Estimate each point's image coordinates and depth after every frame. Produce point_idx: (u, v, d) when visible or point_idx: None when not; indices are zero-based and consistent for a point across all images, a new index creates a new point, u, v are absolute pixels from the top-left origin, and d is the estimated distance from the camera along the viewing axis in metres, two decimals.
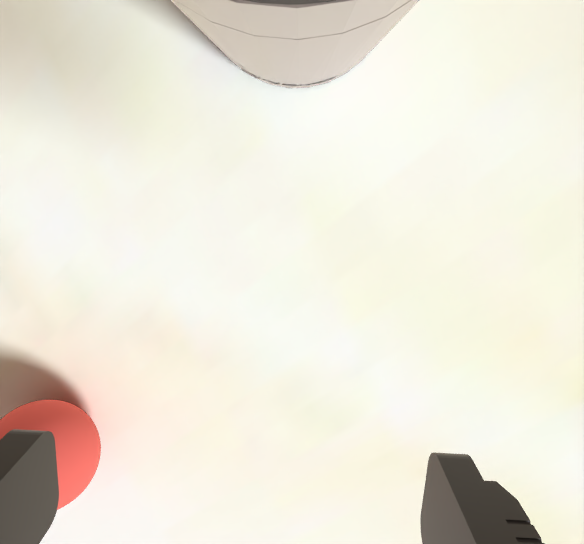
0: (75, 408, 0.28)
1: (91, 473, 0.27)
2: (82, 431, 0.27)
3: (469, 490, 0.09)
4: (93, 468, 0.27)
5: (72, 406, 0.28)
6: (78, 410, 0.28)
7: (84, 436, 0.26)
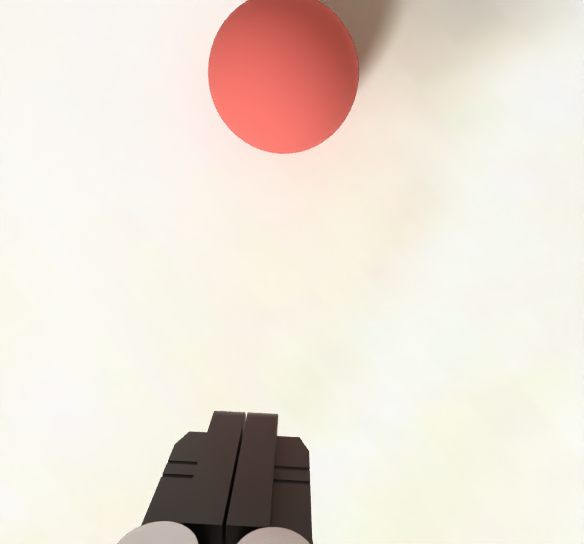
0: None
1: (266, 150, 0.20)
2: (325, 139, 0.20)
3: (257, 441, 0.10)
4: (272, 151, 0.20)
5: None
6: None
7: None
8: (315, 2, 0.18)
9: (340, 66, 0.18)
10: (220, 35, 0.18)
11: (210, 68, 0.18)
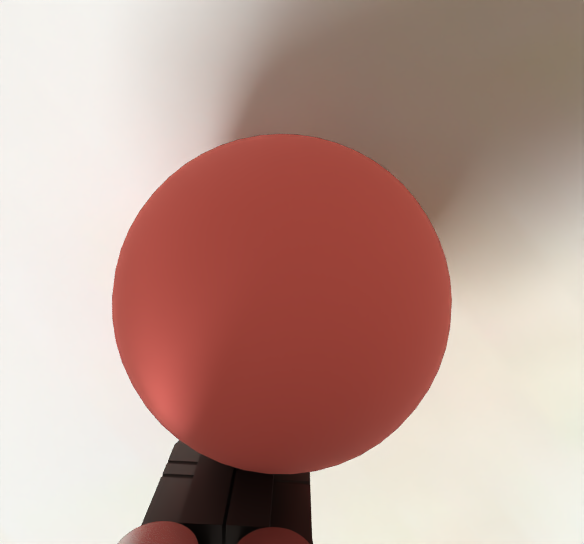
0: None
1: (235, 466, 0.08)
2: None
3: None
4: (248, 470, 0.08)
5: None
6: None
7: (367, 450, 0.08)
8: (359, 153, 0.08)
9: (431, 269, 0.07)
10: (148, 200, 0.08)
11: (116, 268, 0.08)
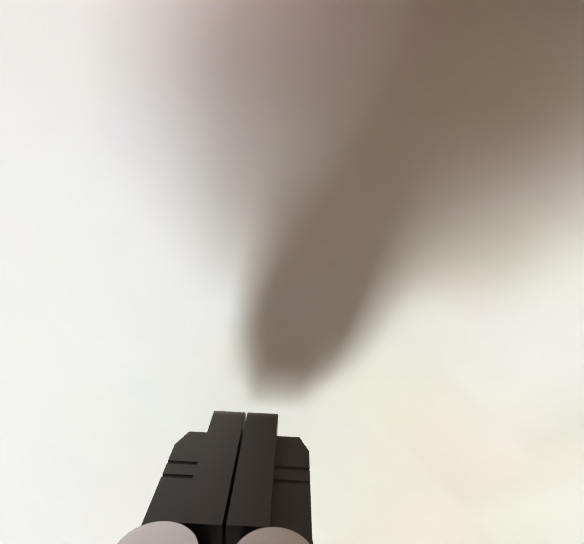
0: None
1: None
2: None
3: (257, 441, 0.10)
4: None
5: None
6: None
7: None
8: None
9: None
10: None
11: None
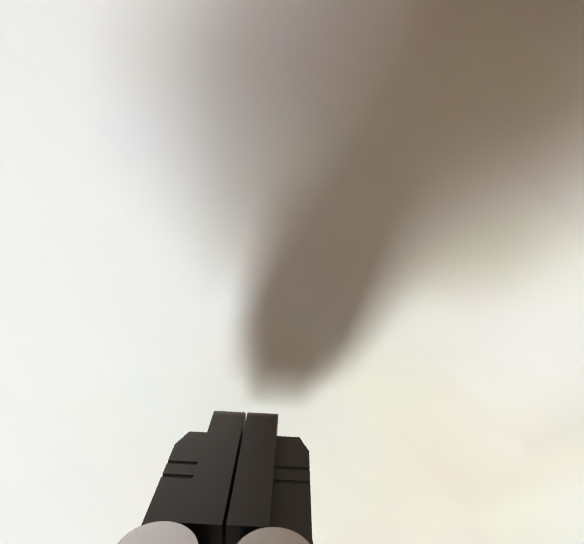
0: None
1: None
2: None
3: (257, 441, 0.10)
4: None
5: None
6: None
7: None
8: None
9: None
10: None
11: None
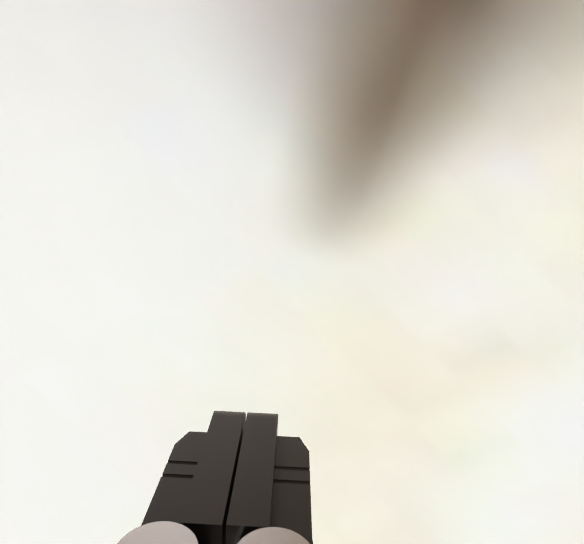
0: None
1: None
2: None
3: (257, 441, 0.10)
4: None
5: None
6: None
7: None
8: None
9: None
10: None
11: None
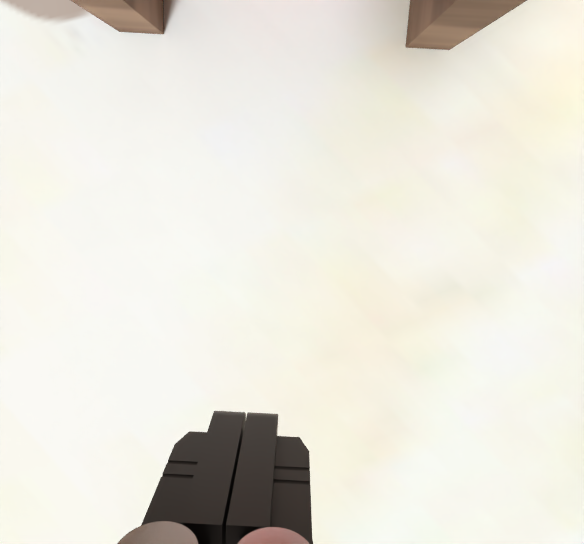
0: None
1: None
2: None
3: (257, 441, 0.10)
4: None
5: None
6: None
7: None
8: None
9: None
10: None
11: None
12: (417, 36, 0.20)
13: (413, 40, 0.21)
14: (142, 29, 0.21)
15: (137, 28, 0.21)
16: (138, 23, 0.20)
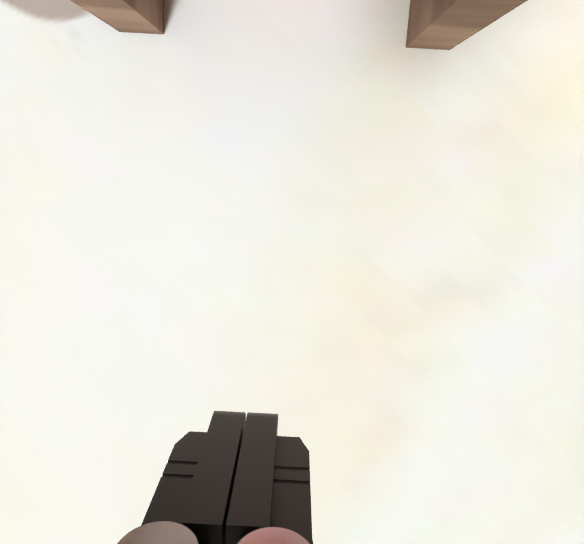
0: None
1: None
2: None
3: (257, 441, 0.10)
4: None
5: None
6: None
7: None
8: None
9: None
10: None
11: None
12: (417, 36, 0.20)
13: (413, 40, 0.21)
14: (142, 29, 0.21)
15: (137, 28, 0.21)
16: (138, 23, 0.20)
